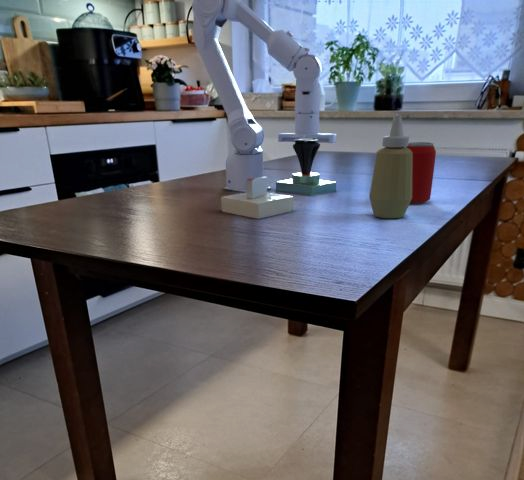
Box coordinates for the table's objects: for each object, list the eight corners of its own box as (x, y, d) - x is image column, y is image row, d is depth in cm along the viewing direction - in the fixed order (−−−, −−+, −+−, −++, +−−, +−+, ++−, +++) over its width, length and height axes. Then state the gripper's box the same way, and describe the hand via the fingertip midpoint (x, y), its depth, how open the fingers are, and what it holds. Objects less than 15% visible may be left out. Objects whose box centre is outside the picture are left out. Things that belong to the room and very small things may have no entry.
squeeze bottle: (385, 222, 96) (395, 116, 88) (359, 214, 102) (365, 115, 94) (419, 217, 99) (430, 114, 91) (391, 210, 106) (400, 113, 98)
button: (295, 181, 128) (295, 174, 127) (305, 179, 130) (305, 172, 129) (306, 182, 126) (306, 175, 125) (316, 181, 128) (316, 173, 127)
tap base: (221, 211, 108) (220, 196, 106) (256, 204, 114) (256, 189, 113) (258, 219, 100) (257, 202, 99) (293, 211, 107) (293, 195, 105)
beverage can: (426, 199, 116) (433, 141, 111) (432, 204, 110) (440, 144, 105) (396, 199, 117) (401, 142, 111) (400, 204, 111) (406, 144, 105)
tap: (261, 193, 108) (260, 175, 107) (267, 194, 108) (267, 175, 106) (246, 198, 104) (245, 179, 102) (252, 198, 103) (251, 179, 102)
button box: (275, 190, 130) (275, 174, 128) (299, 186, 136) (299, 170, 134) (312, 196, 122) (312, 178, 120) (335, 191, 128) (336, 174, 126)
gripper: (271, 114, 121) (272, 174, 127) (328, 113, 115) (326, 177, 121) (286, 112, 127) (285, 170, 133) (340, 112, 120) (338, 173, 126)
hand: (306, 174), depth 127 cm, fingers closed, pressing on button
